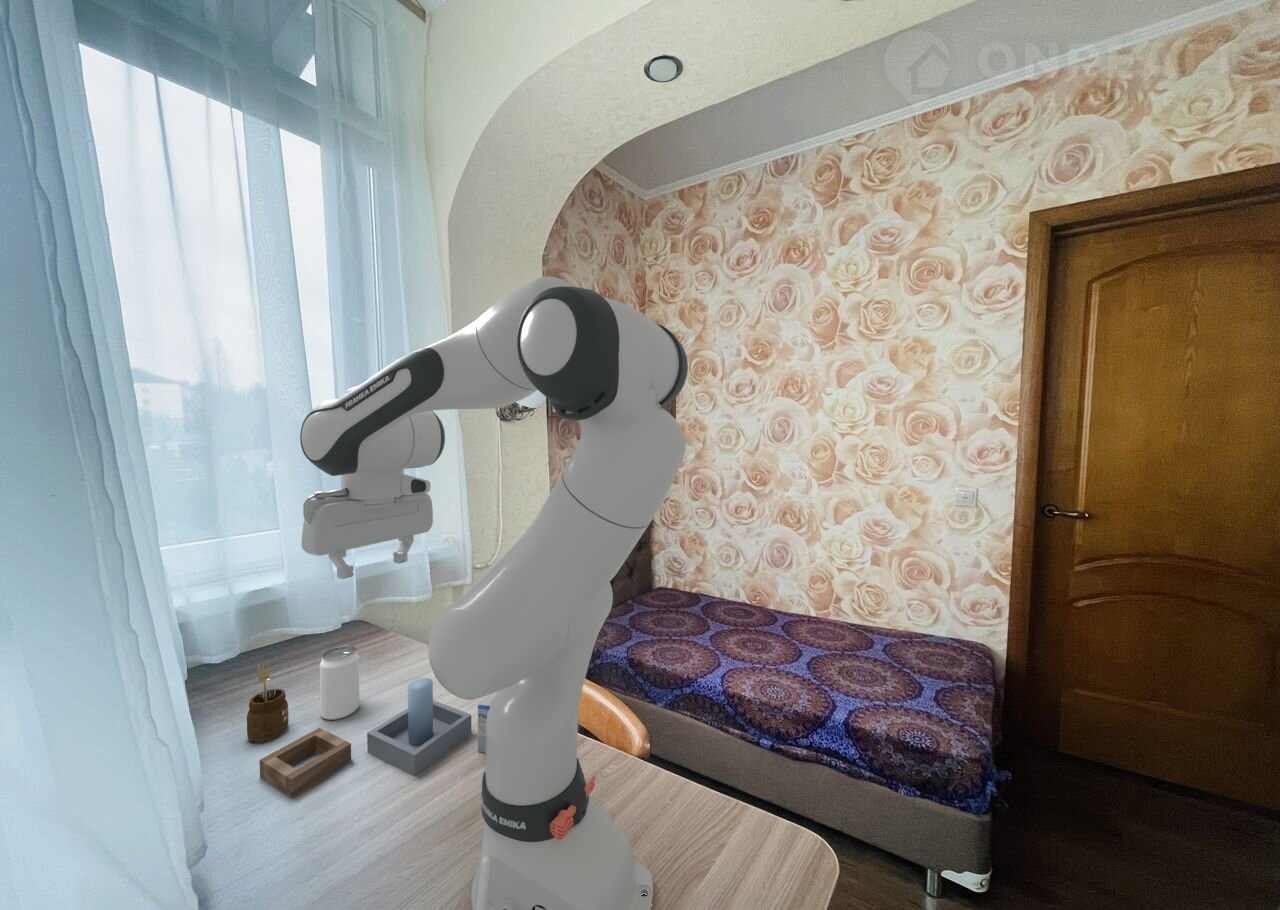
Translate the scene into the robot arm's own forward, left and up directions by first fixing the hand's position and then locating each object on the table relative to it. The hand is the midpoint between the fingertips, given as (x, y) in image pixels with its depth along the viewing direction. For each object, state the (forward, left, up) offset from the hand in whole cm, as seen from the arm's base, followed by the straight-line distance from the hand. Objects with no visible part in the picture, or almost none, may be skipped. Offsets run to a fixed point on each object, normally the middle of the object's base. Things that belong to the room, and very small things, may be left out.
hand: (374, 569), depth 75 cm
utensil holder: (+25, +4, -33) cm, 42 cm away
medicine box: (-14, -14, -33) cm, 39 cm away
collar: (+9, +6, -33) cm, 35 cm away
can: (+20, -6, -33) cm, 39 cm away
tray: (-2, -7, -33) cm, 34 cm away
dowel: (-2, -7, -32) cm, 33 cm away
